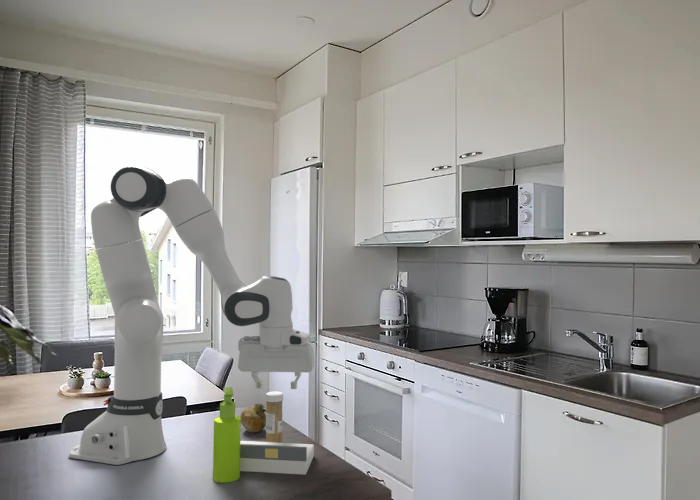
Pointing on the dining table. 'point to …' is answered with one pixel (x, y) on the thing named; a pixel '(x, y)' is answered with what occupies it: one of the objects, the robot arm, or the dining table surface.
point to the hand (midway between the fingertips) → (276, 388)
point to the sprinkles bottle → (274, 416)
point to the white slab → (275, 457)
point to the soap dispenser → (226, 441)
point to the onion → (254, 418)
